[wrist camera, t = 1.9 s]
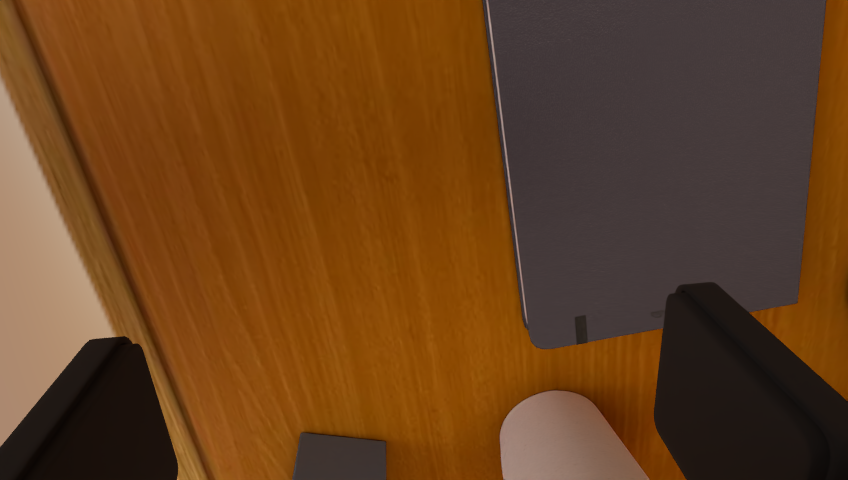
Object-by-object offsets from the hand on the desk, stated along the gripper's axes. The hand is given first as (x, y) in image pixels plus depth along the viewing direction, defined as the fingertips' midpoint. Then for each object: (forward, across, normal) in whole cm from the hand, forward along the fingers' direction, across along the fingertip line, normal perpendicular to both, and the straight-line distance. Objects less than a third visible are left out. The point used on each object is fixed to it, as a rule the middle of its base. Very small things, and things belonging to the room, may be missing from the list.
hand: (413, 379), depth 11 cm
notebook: (+16, -11, -1) cm, 19 cm away
